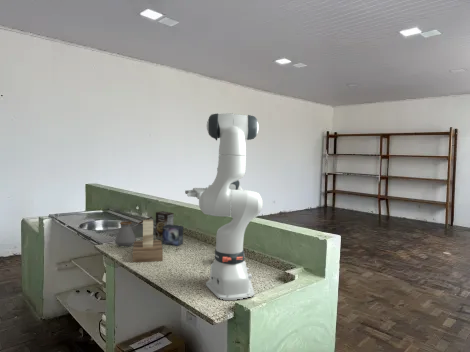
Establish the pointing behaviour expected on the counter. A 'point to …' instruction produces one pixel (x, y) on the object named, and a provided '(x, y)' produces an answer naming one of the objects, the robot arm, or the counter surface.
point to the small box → (172, 235)
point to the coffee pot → (127, 234)
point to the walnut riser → (147, 252)
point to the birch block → (147, 233)
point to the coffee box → (163, 222)
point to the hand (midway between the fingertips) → (186, 193)
